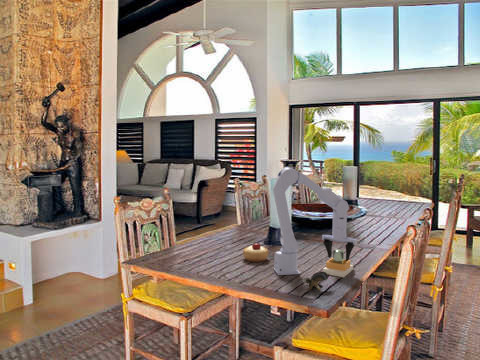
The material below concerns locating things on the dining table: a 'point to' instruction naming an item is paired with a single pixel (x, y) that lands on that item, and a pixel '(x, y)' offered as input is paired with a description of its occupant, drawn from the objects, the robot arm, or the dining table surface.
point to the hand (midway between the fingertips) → (338, 258)
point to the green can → (338, 256)
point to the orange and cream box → (338, 268)
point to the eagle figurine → (315, 279)
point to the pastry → (255, 253)
